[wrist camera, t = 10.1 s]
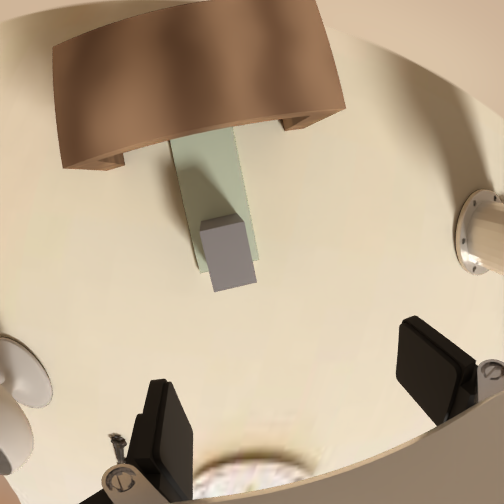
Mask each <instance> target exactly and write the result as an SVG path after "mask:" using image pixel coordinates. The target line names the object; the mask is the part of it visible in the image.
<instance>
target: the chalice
mask: <svg viewBox="0 0 504 504" xmlns="http://www.w3.org/2000/svg"><path fill="white" fill-rule="evenodd" d="M52 396H53V392H52V385H51V382H50V379H49V377H48V375H47V373H46V371H45V370H44V368H43V367H42V365H41V364H40V362H39V361H38V360H37V359H36V358H35V357H34V355H33V354H32V353H30V352H29V351H28V350H27V349H26V348H25V347H23V346H22V345H20V344H19V343H18V342H15V341H13V340H11V339H9V338H5V337H0V475H10V474H12V473H14V472H16V471H17V470H19V469H20V468H21V467H22V466H23V465H24V464H25V463H26V462H27V461H28V459H29V458H30V456H31V454H32V451H33V449H34V437H33V433H32V429H31V426H30V423H29V421H28V419H27V417H26V415H25V414H24V412H23V410H22V409H21V407H20V406H19V404H18V403H17V402H19V403H21V404H23V405H25V406H28V407H32V408H42V407H45V406H47V405H48V404H49V403H50V402H51V400H52ZM16 401H17V402H16Z"/></svg>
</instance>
